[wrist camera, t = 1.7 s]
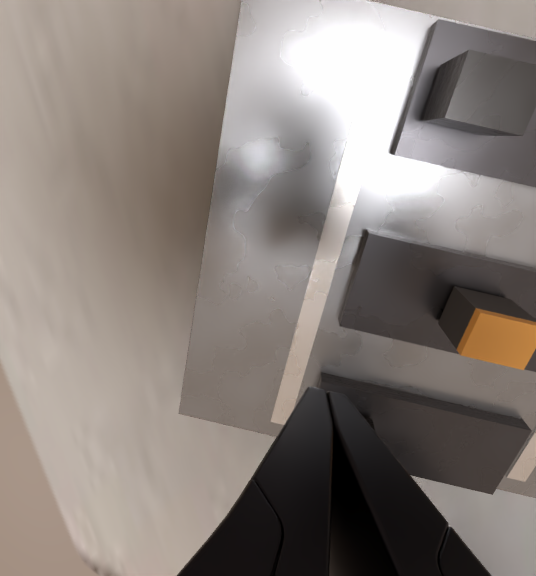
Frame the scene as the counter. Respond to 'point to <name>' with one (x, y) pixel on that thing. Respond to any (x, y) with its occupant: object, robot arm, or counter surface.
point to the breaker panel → (371, 232)
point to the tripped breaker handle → (489, 328)
